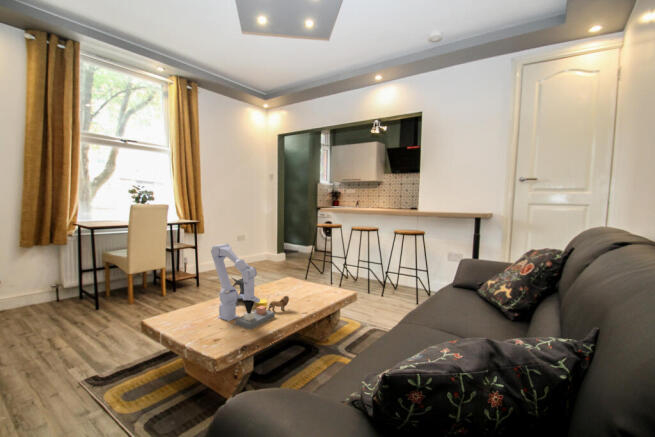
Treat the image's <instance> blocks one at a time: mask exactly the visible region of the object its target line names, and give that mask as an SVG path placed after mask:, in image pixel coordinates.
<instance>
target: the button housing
mask: <svg viewBox="0 0 655 437" xmlns="http://www.w3.org/2000/svg"><path fill="white" fill-rule="evenodd" d="M251 312H254V319H253V320H251V321H247V320H244V315H241V316H239V317H237V318H235V319H234V325H236V326H239V327H242V328H245V329H247V330H253V329H255V328H257V327H258V326H261V325H262V324H265V323H266V322H268V321H269V320H272V319H273V318H275V313H276V312H273V310H272V311H268V309H266V313H265V314H263V315H259V314H256V309H254V310H252V311H251Z"/></svg>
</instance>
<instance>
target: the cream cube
mask: <svg viewBox="0 0 655 437" xmlns="http://www.w3.org/2000/svg"><path fill="white" fill-rule="evenodd" d="M243 316H244V320H247V321H251V320H253V319H254V312H252V311H251V313H247V311H246V312H244V313H243Z"/></svg>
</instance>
